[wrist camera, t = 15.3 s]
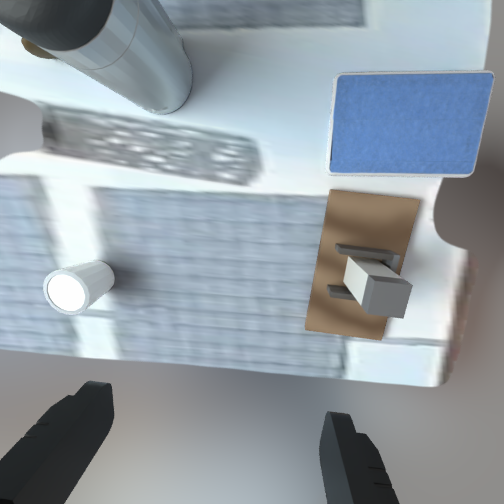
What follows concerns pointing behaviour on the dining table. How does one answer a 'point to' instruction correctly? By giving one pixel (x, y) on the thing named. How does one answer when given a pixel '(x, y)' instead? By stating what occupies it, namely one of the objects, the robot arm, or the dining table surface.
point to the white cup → (78, 286)
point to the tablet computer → (407, 123)
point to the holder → (356, 245)
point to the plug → (377, 287)
